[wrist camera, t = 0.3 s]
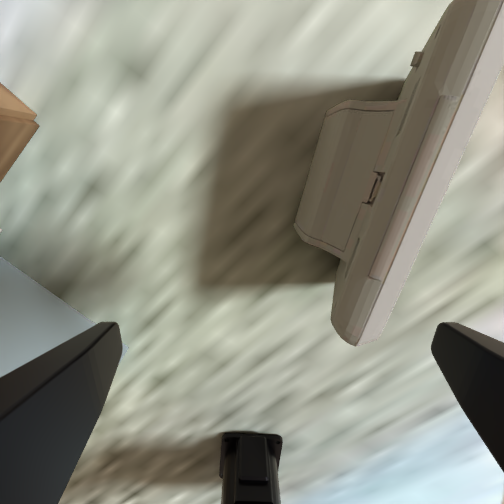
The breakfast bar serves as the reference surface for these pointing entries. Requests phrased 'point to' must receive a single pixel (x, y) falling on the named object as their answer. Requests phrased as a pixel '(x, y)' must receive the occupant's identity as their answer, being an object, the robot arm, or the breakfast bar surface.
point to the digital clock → (397, 165)
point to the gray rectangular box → (33, 319)
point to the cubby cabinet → (13, 129)
